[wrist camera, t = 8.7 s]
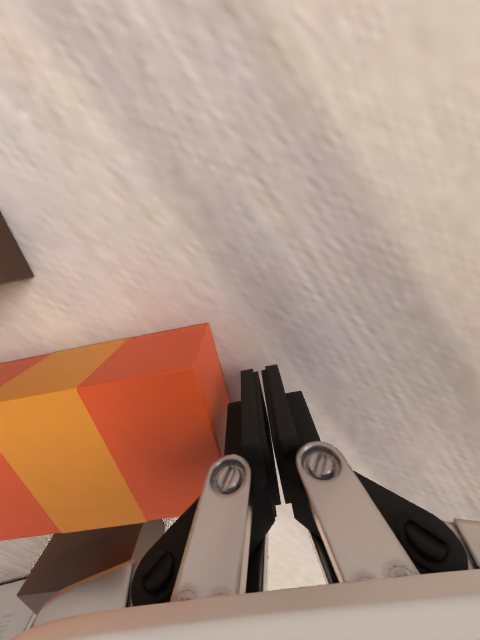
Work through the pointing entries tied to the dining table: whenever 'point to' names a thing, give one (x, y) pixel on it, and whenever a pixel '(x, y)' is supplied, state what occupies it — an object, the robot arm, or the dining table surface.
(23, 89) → the dining table surface
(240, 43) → the dining table surface
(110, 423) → the orange packet
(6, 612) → the skincare box
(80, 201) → the dining table surface
